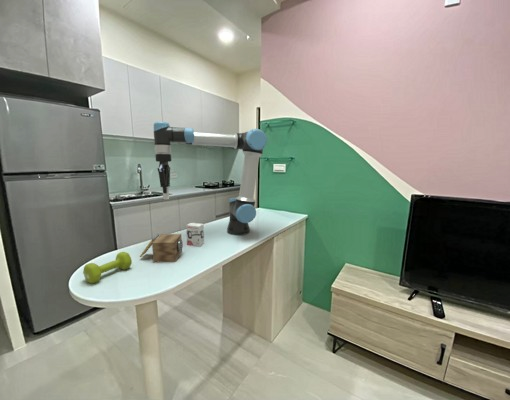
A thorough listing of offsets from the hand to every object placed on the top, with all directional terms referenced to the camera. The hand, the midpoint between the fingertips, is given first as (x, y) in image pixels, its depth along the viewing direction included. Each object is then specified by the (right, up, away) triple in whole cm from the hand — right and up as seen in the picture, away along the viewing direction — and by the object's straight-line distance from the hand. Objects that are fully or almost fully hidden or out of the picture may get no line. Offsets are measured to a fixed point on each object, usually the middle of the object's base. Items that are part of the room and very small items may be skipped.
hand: (166, 199), depth 118 cm
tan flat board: (-3, -23, -11) cm, 25 cm away
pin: (+5, -26, -9) cm, 28 cm away
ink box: (+14, -26, +8) cm, 30 cm away
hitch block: (+5, -28, -9) cm, 30 cm away
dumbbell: (-13, -32, -26) cm, 43 cm away
